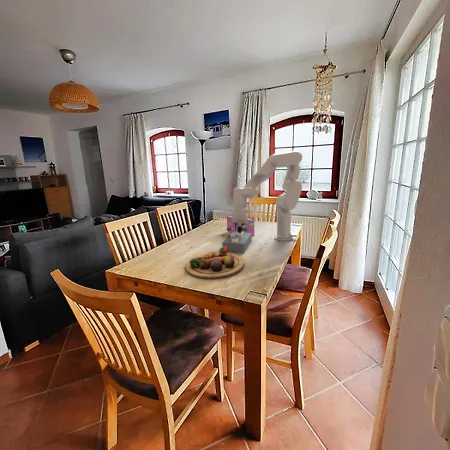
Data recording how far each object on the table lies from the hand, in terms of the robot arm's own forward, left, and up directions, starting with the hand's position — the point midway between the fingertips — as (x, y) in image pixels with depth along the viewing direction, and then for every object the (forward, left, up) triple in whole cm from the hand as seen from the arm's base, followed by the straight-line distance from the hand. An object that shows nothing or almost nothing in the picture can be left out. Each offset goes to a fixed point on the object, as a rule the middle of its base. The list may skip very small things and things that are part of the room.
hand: (239, 232), depth 170 cm
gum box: (+5, -22, -8) cm, 24 cm away
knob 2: (0, 0, -7) cm, 7 cm away
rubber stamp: (+6, +7, -2) cm, 9 cm away
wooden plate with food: (+4, +41, -8) cm, 42 cm away
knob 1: (0, +14, -7) cm, 16 cm away
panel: (0, +7, -8) cm, 10 cm away
